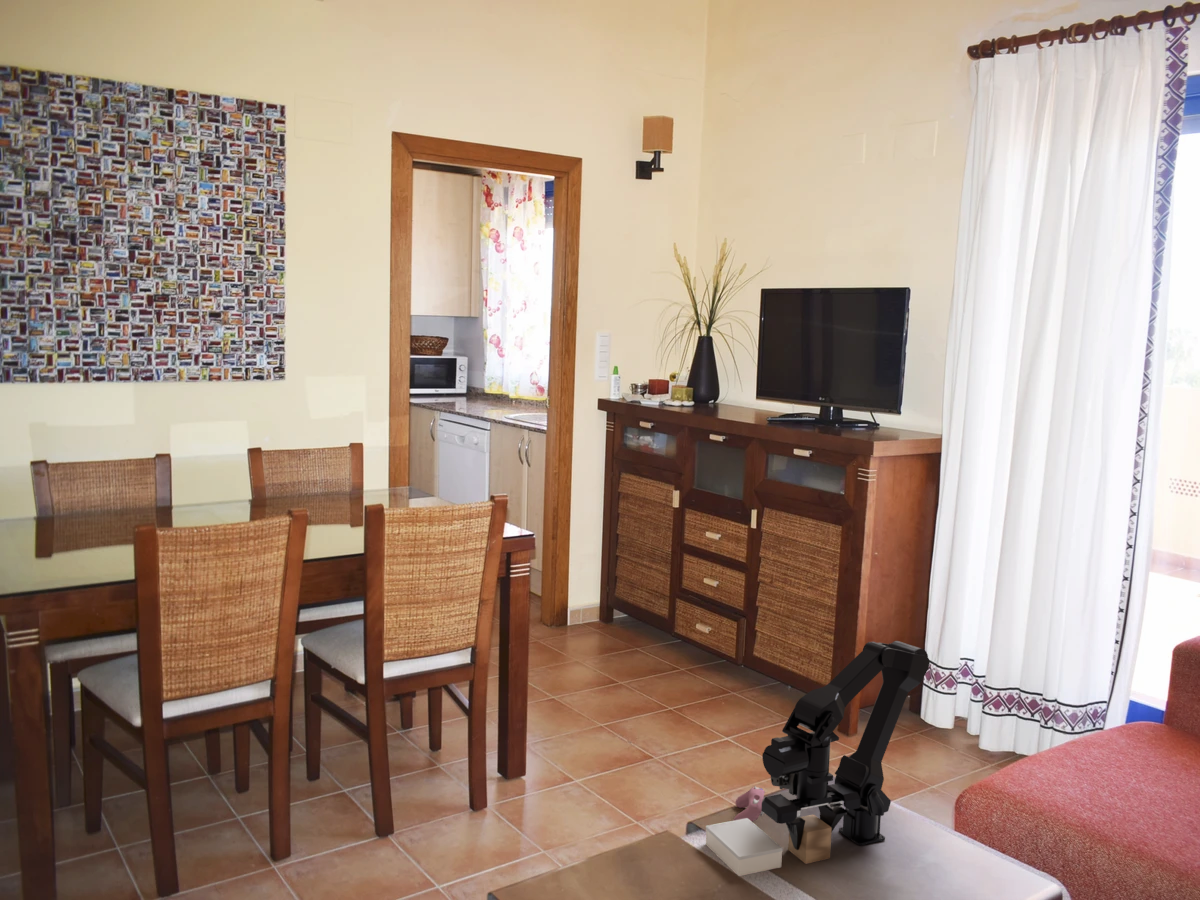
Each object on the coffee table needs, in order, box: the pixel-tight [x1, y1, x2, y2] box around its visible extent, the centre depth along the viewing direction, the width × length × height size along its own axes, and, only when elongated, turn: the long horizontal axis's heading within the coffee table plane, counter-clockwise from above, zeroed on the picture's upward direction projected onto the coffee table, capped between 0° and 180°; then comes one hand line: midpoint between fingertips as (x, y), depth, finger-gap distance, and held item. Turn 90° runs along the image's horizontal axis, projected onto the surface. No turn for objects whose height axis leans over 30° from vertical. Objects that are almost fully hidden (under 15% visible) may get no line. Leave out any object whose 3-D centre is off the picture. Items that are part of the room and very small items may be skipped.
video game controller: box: [732, 785, 766, 823], centre depth 193 cm, size 10×5×7 cm, turn 169°
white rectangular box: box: [705, 818, 784, 877], centre depth 178 cm, size 9×12×4 cm
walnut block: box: [787, 814, 832, 864], centre depth 179 cm, size 6×6×6 cm
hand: (809, 846), depth 180 cm, fingers closed on walnut block, 5 cm apart
